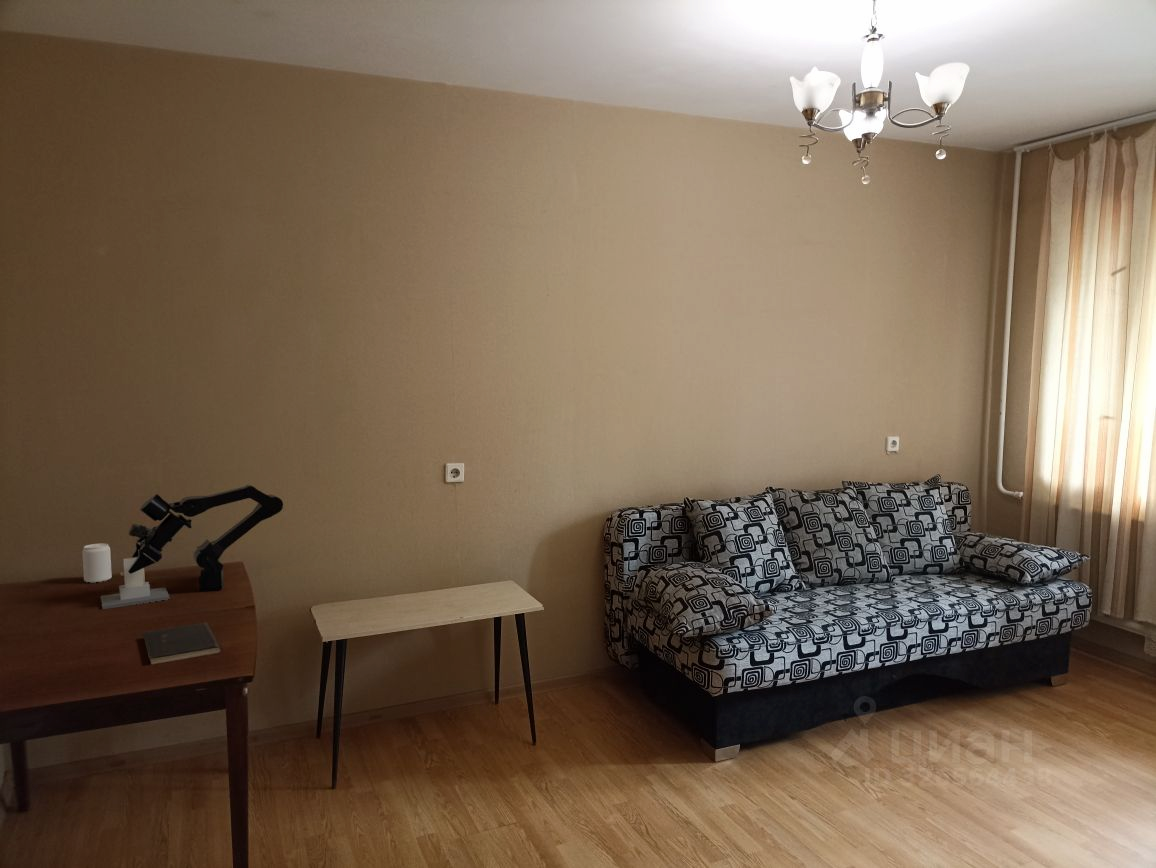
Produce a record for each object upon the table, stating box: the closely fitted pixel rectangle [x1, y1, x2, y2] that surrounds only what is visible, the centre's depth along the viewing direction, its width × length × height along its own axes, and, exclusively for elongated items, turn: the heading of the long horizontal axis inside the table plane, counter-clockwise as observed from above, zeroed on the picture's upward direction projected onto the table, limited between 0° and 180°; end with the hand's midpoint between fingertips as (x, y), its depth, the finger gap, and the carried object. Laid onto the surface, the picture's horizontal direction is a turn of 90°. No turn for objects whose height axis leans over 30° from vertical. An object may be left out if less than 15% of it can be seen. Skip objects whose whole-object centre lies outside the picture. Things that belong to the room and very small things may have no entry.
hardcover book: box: [142, 621, 222, 665], centre depth 210 cm, size 16×23×2 cm
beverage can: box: [81, 542, 113, 584], centre depth 276 cm, size 8×8×12 cm
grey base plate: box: [100, 581, 171, 610], centre depth 253 cm, size 18×13×4 cm
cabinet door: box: [119, 557, 146, 588], centre depth 252 cm, size 7×2×12 cm, turn 122°
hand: (128, 569), depth 251 cm, fingers open, 9 cm apart
